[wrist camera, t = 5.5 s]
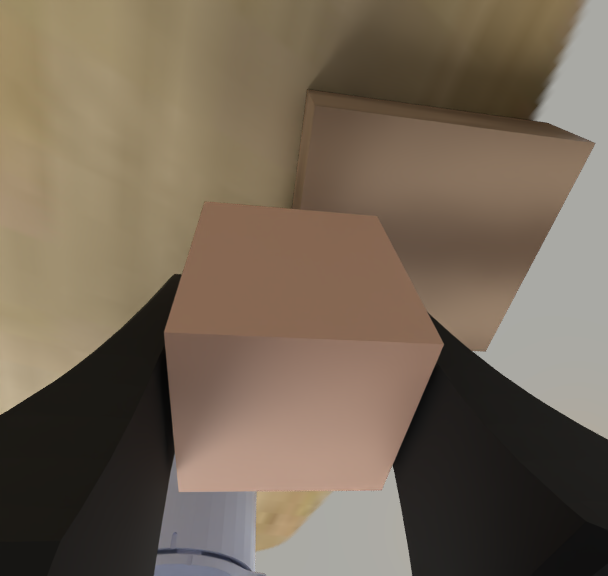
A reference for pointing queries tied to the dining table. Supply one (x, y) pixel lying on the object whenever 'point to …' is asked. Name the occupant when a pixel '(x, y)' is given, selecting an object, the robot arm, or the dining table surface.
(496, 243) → the walnut base
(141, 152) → the dining table surface
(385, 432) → the terracotta cube
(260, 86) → the dining table surface
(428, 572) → the robot arm
